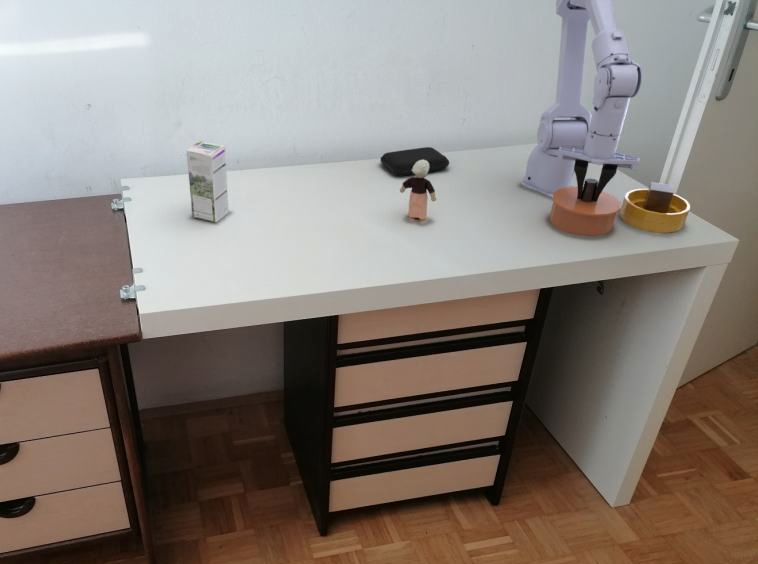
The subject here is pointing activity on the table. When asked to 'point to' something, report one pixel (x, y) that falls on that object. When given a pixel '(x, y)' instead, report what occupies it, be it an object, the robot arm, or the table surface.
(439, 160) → the carrying case
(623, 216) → the bowl
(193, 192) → the syrup box
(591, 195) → the lid
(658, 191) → the walnut block
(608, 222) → the pot
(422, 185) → the grandmother figurine
